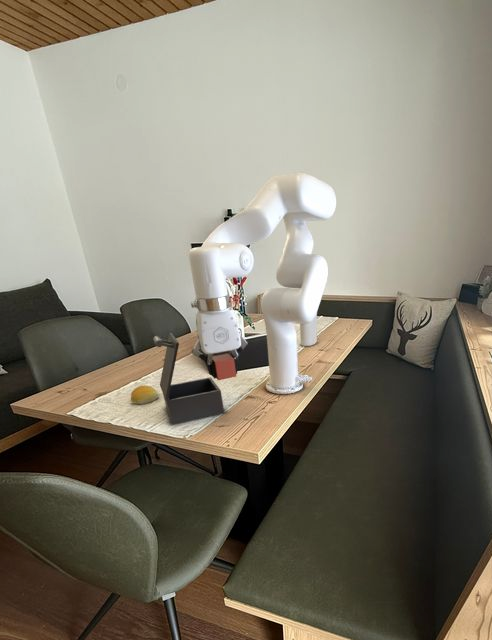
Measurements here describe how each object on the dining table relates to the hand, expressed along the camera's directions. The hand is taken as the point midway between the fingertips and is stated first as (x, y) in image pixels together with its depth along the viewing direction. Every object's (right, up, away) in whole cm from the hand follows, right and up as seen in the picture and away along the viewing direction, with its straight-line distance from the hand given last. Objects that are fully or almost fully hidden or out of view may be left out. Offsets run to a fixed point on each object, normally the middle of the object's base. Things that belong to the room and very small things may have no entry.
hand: (224, 373), depth 96 cm
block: (0, 0, 0) cm, 0 cm away
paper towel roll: (+25, +25, +69) cm, 78 cm away
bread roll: (-30, -5, +22) cm, 38 cm away
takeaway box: (-12, -9, +13) cm, 19 cm away
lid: (-16, +3, +4) cm, 17 cm away
